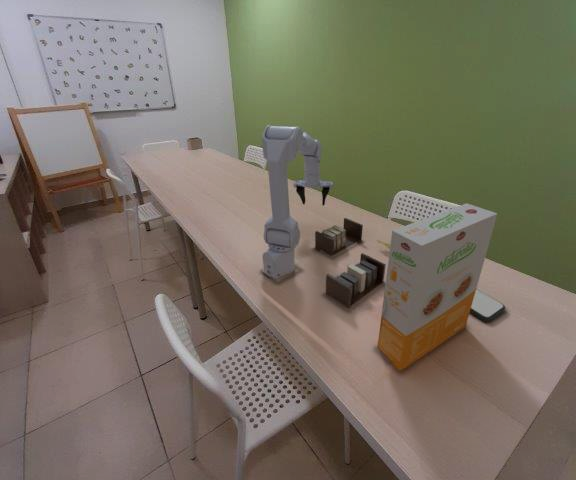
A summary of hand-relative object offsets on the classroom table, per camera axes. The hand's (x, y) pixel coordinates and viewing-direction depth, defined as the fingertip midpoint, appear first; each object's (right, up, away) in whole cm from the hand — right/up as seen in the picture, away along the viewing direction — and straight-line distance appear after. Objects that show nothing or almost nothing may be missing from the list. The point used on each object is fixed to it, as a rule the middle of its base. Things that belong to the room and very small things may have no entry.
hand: (313, 203), depth 116 cm
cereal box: (+21, -32, -47) cm, 60 cm away
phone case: (+38, -26, -35) cm, 58 cm away
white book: (+9, -24, -31) cm, 41 cm away
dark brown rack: (+8, -15, -9) cm, 19 cm away
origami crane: (+27, -18, -17) cm, 37 cm away
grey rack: (+9, -25, -31) cm, 41 cm away
